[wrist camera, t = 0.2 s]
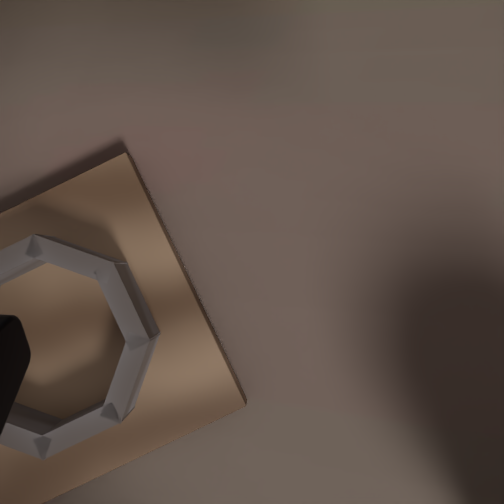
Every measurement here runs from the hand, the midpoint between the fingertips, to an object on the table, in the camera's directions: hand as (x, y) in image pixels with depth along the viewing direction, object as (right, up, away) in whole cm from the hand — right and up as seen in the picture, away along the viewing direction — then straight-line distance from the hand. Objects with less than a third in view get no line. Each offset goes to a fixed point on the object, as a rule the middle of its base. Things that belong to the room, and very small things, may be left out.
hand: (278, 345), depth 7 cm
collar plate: (-10, -3, +15) cm, 18 cm away
